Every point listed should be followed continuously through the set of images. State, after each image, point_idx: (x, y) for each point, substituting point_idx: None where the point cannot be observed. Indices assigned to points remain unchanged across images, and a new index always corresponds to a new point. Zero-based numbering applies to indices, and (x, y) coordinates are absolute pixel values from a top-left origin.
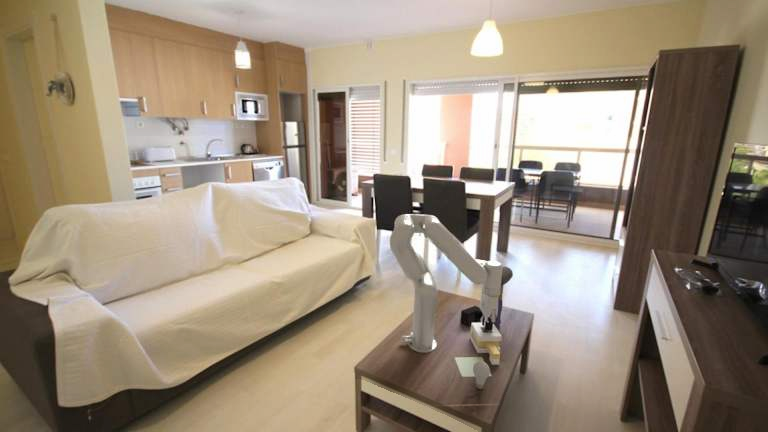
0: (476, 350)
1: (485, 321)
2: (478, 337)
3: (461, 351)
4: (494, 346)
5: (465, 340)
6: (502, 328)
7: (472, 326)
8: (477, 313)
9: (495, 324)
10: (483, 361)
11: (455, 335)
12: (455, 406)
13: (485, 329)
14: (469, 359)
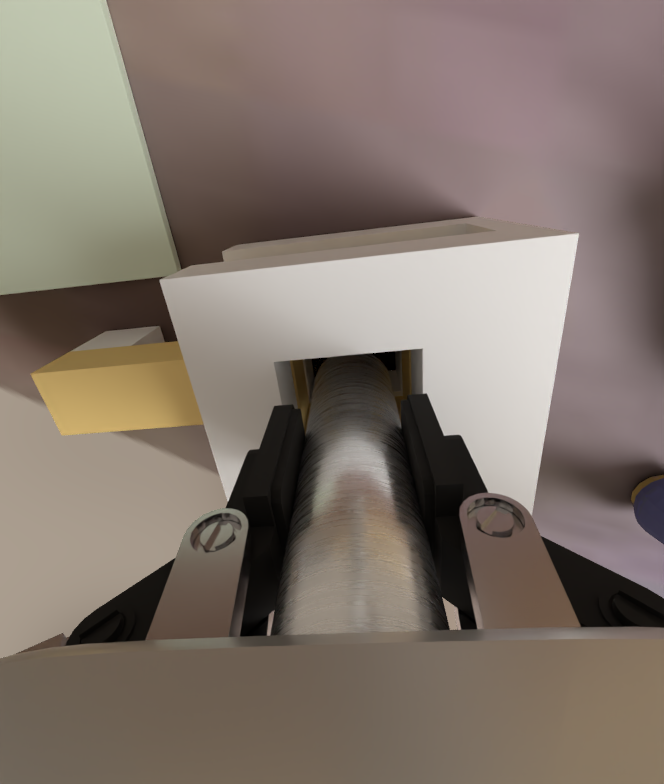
0: (264, 242)
1: (320, 486)
2: (194, 271)
3: (246, 64)
4: (169, 415)
5: (455, 158)
6: (596, 516)
7: (490, 238)
8: None
9: (646, 492)
10: (118, 273)
11: (571, 32)
12: None
13: (275, 411)
14: (101, 133)
